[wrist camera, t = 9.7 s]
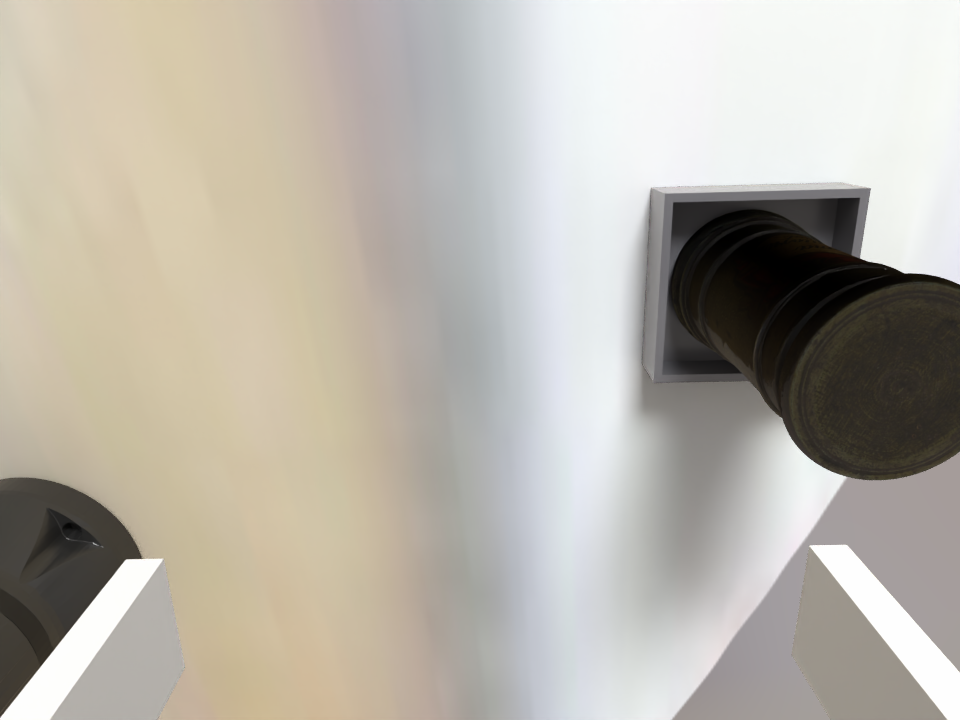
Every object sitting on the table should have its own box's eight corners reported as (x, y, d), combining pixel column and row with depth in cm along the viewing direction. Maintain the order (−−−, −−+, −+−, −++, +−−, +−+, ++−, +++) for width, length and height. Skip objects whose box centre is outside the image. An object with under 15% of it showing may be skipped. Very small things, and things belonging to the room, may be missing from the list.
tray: (642, 363, 46) (653, 382, 43) (651, 187, 42) (665, 193, 39) (815, 360, 46) (840, 379, 43) (841, 182, 42) (870, 188, 39)
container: (798, 351, 45) (986, 496, 28) (659, 345, 45) (762, 486, 28) (827, 211, 42) (1058, 276, 25) (678, 205, 42) (806, 265, 25)
